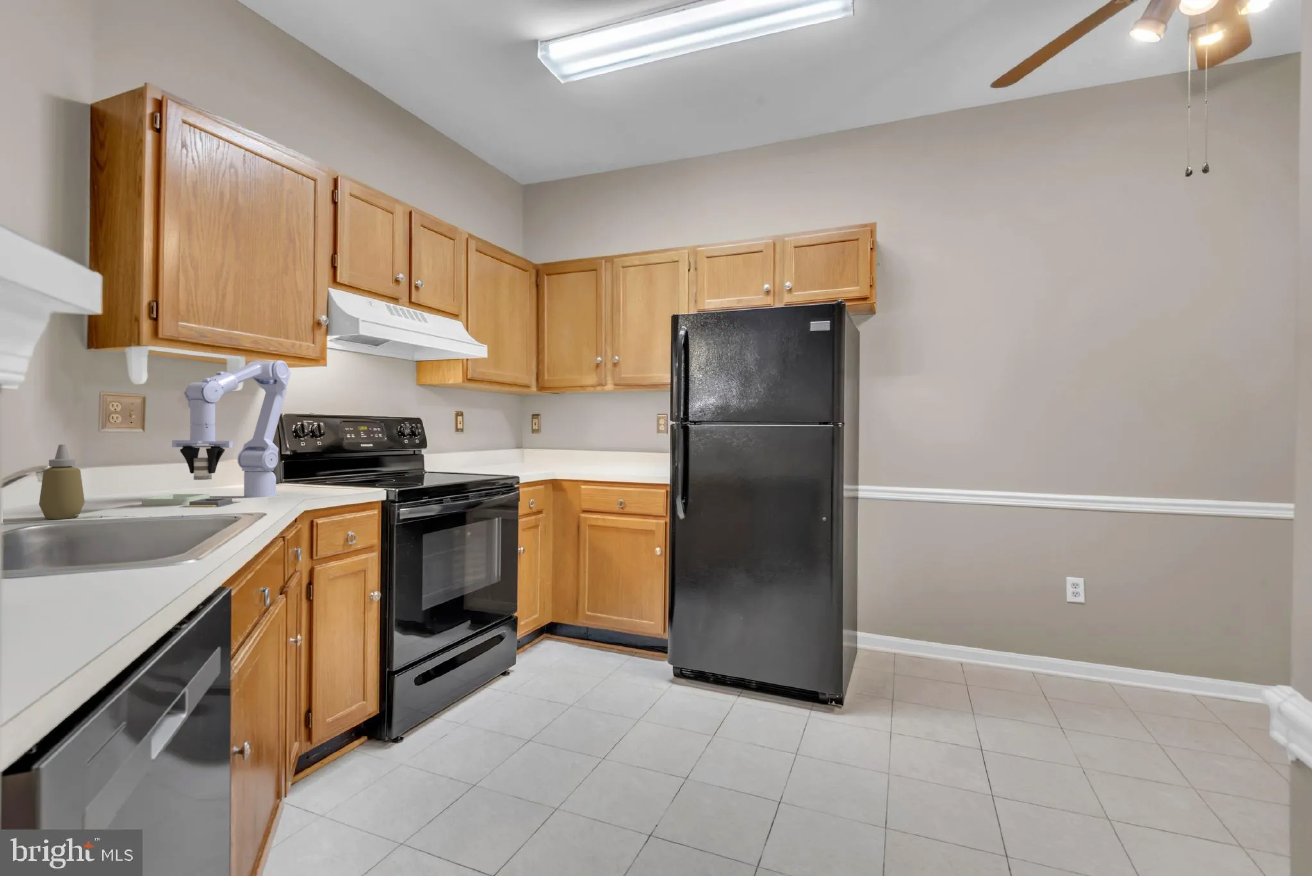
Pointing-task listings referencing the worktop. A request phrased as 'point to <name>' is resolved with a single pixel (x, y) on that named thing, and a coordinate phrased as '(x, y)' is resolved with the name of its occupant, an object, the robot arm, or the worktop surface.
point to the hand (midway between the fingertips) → (202, 473)
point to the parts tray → (174, 499)
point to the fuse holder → (211, 502)
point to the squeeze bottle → (61, 488)
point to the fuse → (201, 469)
